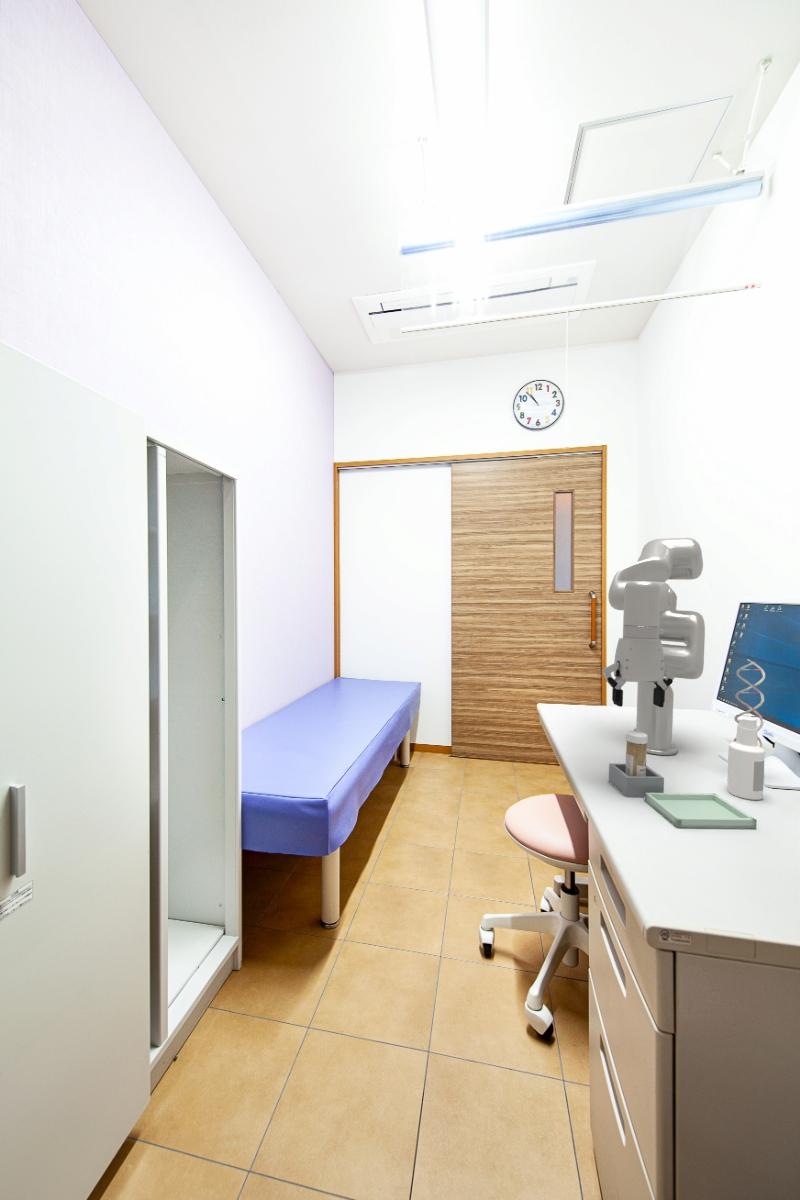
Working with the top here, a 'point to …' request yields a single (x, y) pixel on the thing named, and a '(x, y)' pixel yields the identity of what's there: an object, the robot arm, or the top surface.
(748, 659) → the dna model
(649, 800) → the tray
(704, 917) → the top surface
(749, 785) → the white bottle
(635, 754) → the sprinkles bottle
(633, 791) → the holder
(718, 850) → the top surface
